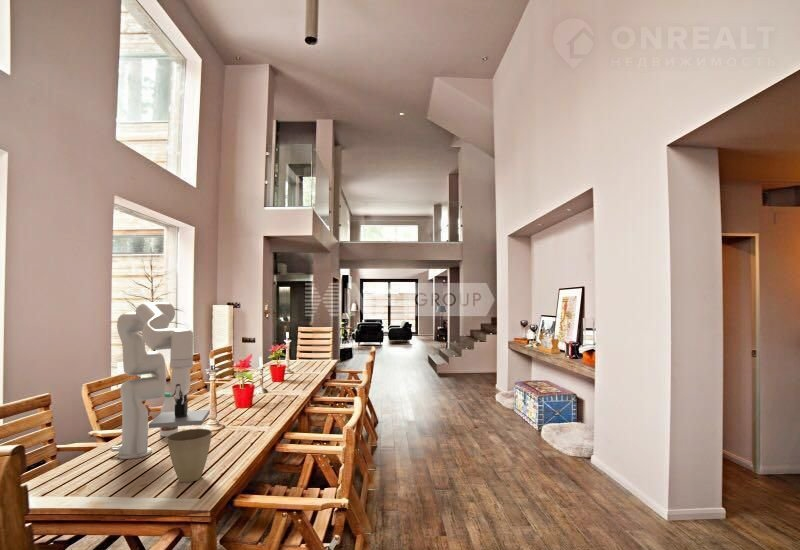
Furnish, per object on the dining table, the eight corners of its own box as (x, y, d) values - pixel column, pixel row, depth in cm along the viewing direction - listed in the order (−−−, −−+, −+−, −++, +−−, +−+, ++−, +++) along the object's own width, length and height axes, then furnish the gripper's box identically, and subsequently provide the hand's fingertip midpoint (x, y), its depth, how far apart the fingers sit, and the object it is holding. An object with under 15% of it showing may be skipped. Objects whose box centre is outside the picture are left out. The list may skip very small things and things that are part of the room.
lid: (148, 428, 160) (148, 409, 161) (161, 416, 177) (162, 399, 177) (201, 424, 164) (201, 406, 164) (209, 413, 181) (209, 396, 181)
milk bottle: (156, 436, 224) (156, 393, 225) (169, 431, 231) (170, 390, 232) (168, 437, 221) (168, 395, 222) (181, 433, 228) (181, 391, 229)
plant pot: (190, 469, 180) (190, 427, 180) (220, 474, 174) (220, 430, 175) (156, 483, 166) (157, 437, 167) (188, 489, 160) (188, 442, 161)
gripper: (176, 361, 179) (175, 409, 178) (164, 367, 163) (163, 420, 162) (197, 360, 180) (196, 408, 179) (187, 366, 164) (187, 419, 163)
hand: (181, 413), depth 171 cm, fingers closed on lid, 4 cm apart
